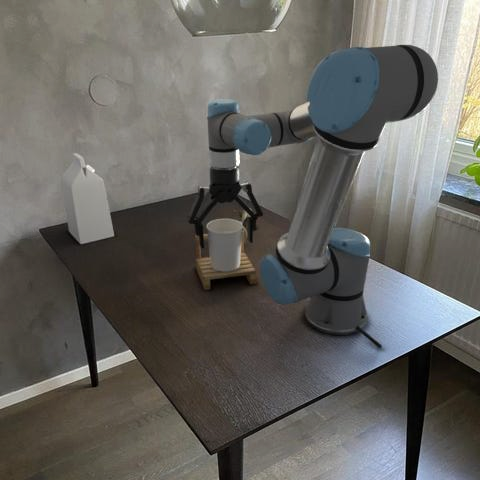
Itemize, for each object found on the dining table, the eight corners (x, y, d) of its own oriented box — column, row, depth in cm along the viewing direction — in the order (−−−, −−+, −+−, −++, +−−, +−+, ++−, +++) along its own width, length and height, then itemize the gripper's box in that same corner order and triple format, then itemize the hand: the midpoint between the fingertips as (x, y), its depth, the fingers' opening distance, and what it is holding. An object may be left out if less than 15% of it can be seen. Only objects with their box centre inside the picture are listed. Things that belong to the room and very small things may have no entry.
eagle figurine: (227, 220, 178) (237, 224, 170) (236, 201, 177) (246, 205, 169) (245, 229, 182) (255, 234, 174) (254, 210, 181) (264, 215, 173)
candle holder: (202, 270, 141) (200, 230, 135) (215, 255, 149) (214, 216, 142) (236, 275, 139) (235, 235, 132) (247, 260, 146) (247, 220, 140)
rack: (255, 283, 143) (256, 248, 137) (204, 290, 140) (203, 254, 134) (243, 262, 154) (244, 229, 148) (196, 268, 151) (194, 234, 145)
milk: (68, 231, 172) (53, 153, 158) (101, 224, 178) (89, 148, 163) (80, 244, 164) (65, 163, 150) (114, 236, 169) (102, 157, 155)
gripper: (267, 158, 134) (265, 233, 145) (173, 165, 129) (179, 242, 140) (276, 166, 128) (273, 243, 139) (177, 174, 123) (183, 254, 134)
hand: (226, 243), depth 140 cm, fingers open, 13 cm apart
